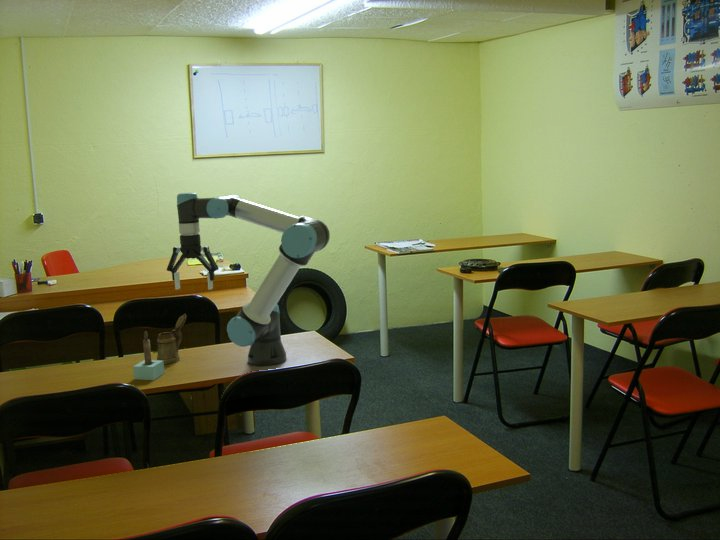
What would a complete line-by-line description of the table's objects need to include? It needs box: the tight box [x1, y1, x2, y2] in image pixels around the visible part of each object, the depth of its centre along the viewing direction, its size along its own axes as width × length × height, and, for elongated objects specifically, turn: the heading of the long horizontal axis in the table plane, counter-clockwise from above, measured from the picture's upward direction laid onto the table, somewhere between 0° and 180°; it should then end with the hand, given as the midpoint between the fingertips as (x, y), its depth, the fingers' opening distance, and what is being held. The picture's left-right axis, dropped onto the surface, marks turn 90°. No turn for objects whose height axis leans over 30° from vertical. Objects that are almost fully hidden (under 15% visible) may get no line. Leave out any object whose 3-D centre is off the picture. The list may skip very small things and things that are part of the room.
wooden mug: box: [156, 313, 187, 365], centre depth 280 cm, size 9×14×18 cm, turn 125°
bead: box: [132, 359, 165, 381], centre depth 261 cm, size 8×8×5 cm
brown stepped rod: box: [142, 330, 152, 365], centre depth 260 cm, size 2×2×17 cm
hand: (194, 289), depth 266 cm, fingers open, 13 cm apart
